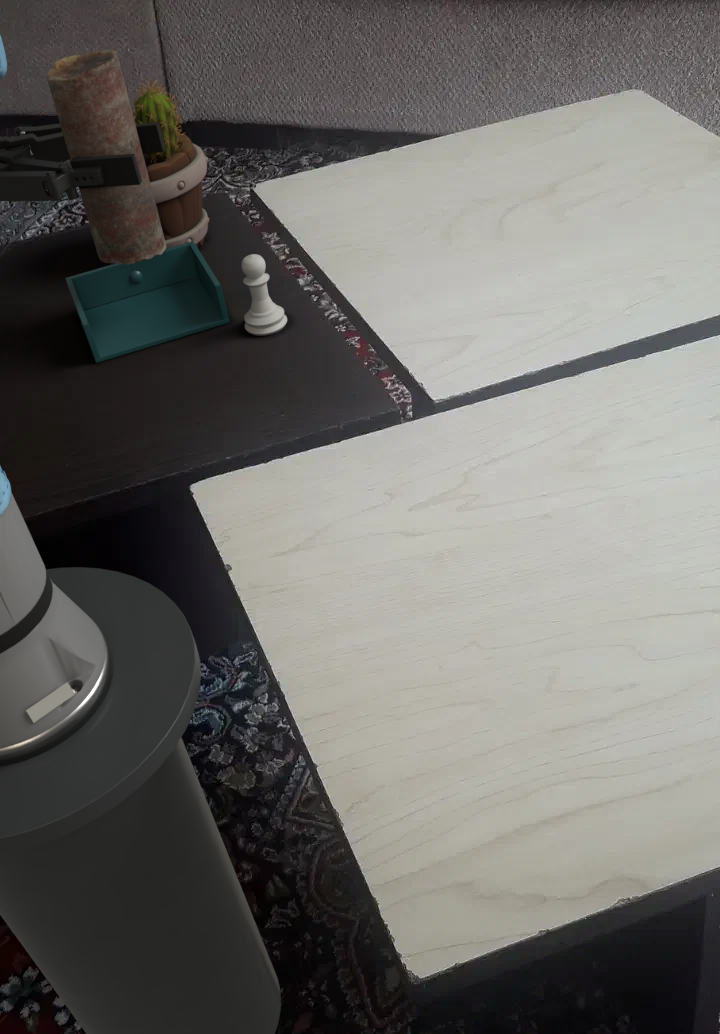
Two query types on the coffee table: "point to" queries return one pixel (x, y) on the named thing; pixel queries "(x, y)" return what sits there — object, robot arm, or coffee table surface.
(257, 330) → the chess piece
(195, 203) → the flowerpot
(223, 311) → the teal tray
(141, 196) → the rusty brown cylinder
